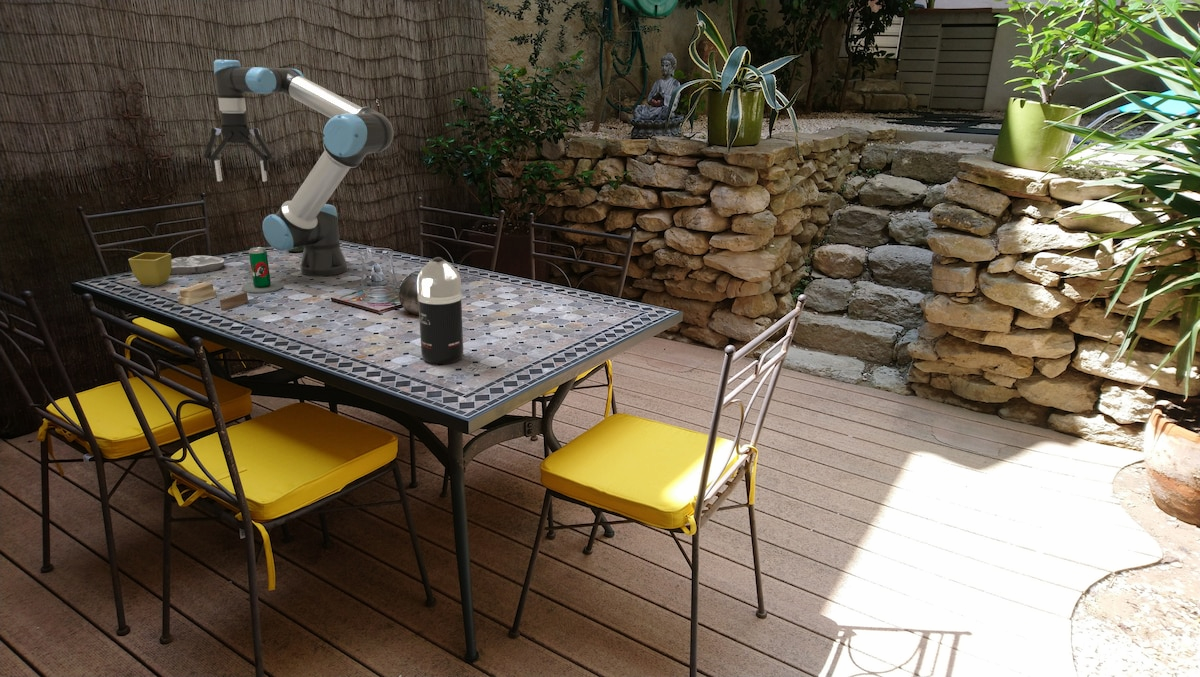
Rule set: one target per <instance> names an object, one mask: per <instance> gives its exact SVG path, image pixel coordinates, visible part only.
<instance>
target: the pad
mask: <svg viewBox="0 0 1200 677" xmlns="http://www.w3.org/2000/svg"><path fill="white" fill-rule="evenodd" d="M283 286H284V283H282V282H279V281H272V280H271V285H270V286H269V287H265V288H256V287H255V286H254V285H253V282H250V283H247V284H244V285H242V286H241V291H242V292H243V291H244V292H249V293H248V294H267V293H266V292H269V293H274V292H278V291H280V290H282V289H284V287H283ZM281 288H282V289H281ZM279 289H280V290H279ZM277 290H278V291H277ZM273 291H274V292H273Z"/></svg>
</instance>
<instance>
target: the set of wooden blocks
mask: <svg viewBox="0 0 1200 677" xmlns="http://www.w3.org/2000/svg"><path fill="white" fill-rule="evenodd" d="M179 294H180V295H179V296H177V302H178V305H183V306H192V305H195V304H198V303H201V302H204V301H207V300H210V299H213V298H216V297H217V296H218V295H217V290H216V289H214V284H213V283H210V282H200V283H196V284H194V285H191V286H188V287H185V288H182V289H179ZM246 302H247V303H249V297H248V293H247V292H243V291H242V292H240V293H237V294H234V295H231V296H228V297H224V298H221V299H219V303H220V308H221V309H220V311H227V310H230V309H233V308H235V307H238V305H239V306H241V304H242V305H244V304H246Z"/></svg>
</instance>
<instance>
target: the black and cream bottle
mask: <svg viewBox="0 0 1200 677" xmlns="http://www.w3.org/2000/svg"><path fill="white" fill-rule="evenodd" d="M416 284H417V285H416V286H417V287H416V288H417V301H418V302H417V303H418V317H419V332H420V333H419V334H420V335H419V336H420V352H421V357H422V359H423V360H424V361H425V362H427V363H430V364H434V365H447V364H453V363H456V362H458V361H459V360H461V359H462V357H463V356H464V335H463V334H464V333H463V330H464V329H463V311H462V310H463V309H462V308H463V307H462V305H463V304H462V299H463V295H462V294H463V293H462V280H461V276H460V274H459V272H458V270H457V269H456V268H455V267H454V266H453V265H452V264H451V263H449V262H448V261H447V260H445V259H443V257H441V256H436V257H434V258H432V259H431V260H430V261H429V262H427V263H426V264H425V265H424V266H423V267H422V268H421V269H420V271H419V273H418V275H417V278H416Z"/></svg>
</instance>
